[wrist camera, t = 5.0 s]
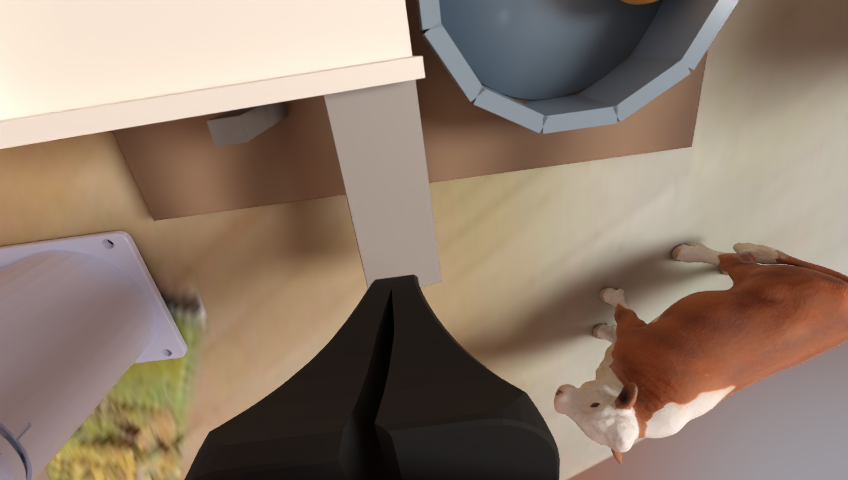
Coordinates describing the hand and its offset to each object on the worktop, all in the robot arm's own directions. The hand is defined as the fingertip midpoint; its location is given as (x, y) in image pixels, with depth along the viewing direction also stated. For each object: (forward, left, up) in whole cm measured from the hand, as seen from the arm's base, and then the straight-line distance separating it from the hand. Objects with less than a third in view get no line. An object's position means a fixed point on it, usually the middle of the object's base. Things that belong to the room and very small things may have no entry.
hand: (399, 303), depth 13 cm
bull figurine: (+13, -7, -9) cm, 17 cm away
